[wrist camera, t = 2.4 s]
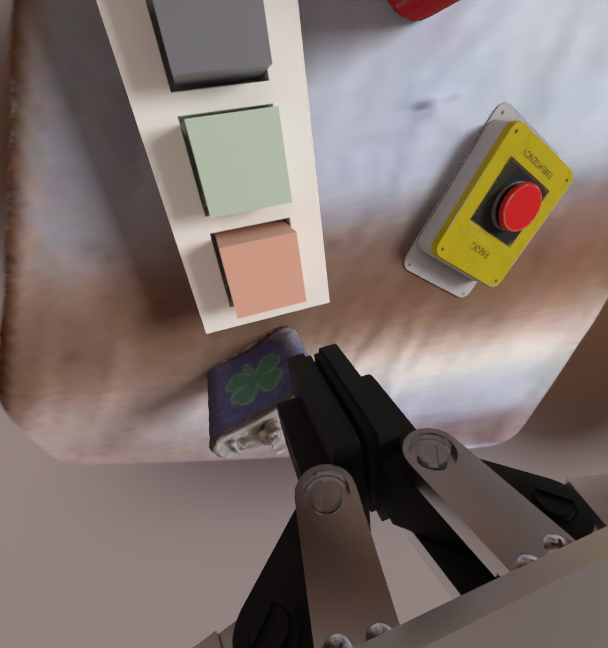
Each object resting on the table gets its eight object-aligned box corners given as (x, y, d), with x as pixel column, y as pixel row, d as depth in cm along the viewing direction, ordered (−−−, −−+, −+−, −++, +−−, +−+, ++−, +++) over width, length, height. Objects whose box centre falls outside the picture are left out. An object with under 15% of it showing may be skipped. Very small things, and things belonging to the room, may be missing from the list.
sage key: (185, 124, 18) (184, 118, 15) (263, 113, 19) (278, 106, 16) (207, 206, 21) (210, 218, 17) (276, 193, 21) (292, 202, 18)
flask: (289, 319, 30) (330, 395, 21) (302, 342, 31) (347, 422, 22) (200, 371, 30) (203, 470, 21) (218, 392, 31) (228, 492, 22)
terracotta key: (214, 232, 21) (218, 248, 18) (280, 218, 22) (296, 231, 19) (231, 294, 24) (237, 318, 20) (290, 279, 24) (306, 301, 21)
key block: (94, -42, 17) (61, -105, 13) (265, -51, 19) (286, -109, 14) (204, 304, 27) (206, 333, 23) (309, 279, 29) (329, 302, 24)
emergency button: (606, 159, 27) (491, 315, 31) (556, 157, 31) (460, 298, 35) (546, 89, 23) (424, 280, 27) (497, 97, 27) (396, 264, 31)
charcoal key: (145, -26, 15) (131, -76, 12) (239, -32, 16) (251, -79, 13) (176, 88, 18) (172, 74, 14) (257, 79, 18) (272, 63, 15)
